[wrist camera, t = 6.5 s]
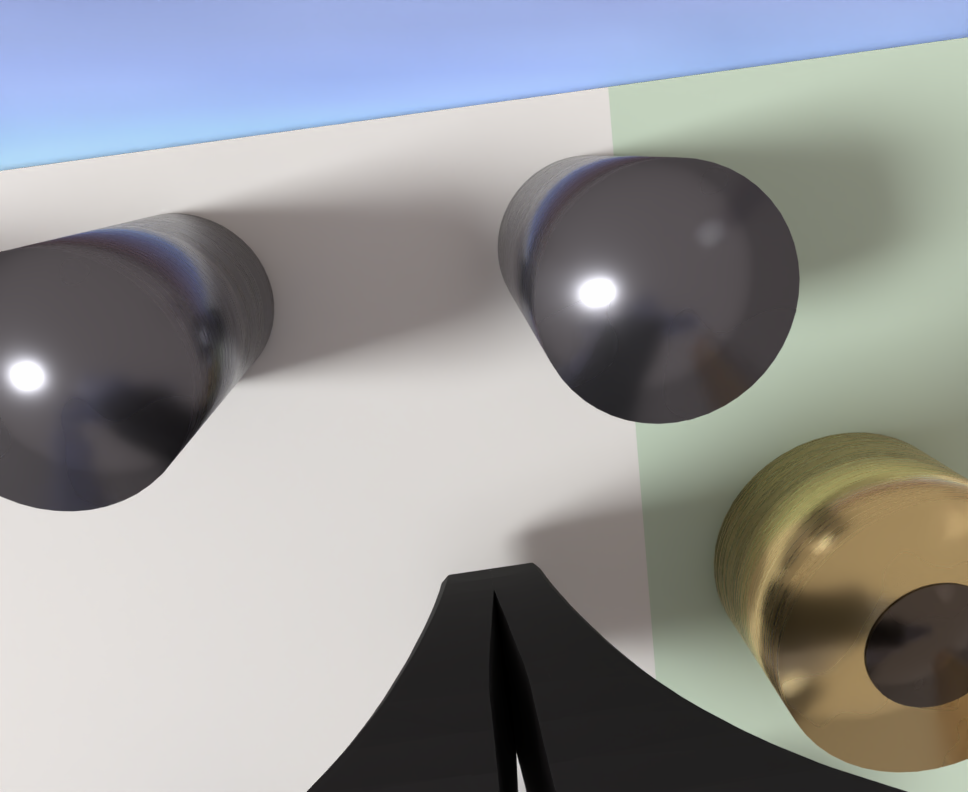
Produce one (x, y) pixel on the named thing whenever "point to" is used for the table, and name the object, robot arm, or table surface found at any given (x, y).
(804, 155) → the field mat
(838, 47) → the table surface
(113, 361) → the spacers
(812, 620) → the brass knob
